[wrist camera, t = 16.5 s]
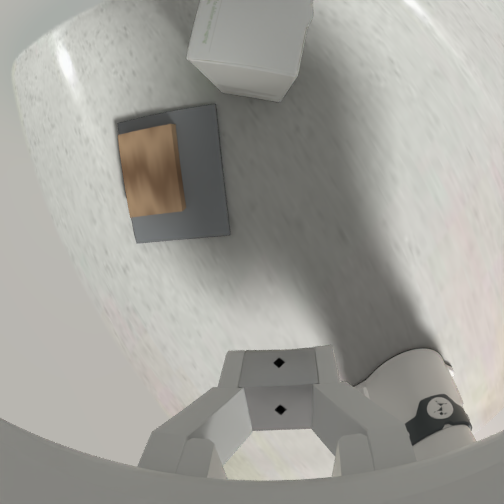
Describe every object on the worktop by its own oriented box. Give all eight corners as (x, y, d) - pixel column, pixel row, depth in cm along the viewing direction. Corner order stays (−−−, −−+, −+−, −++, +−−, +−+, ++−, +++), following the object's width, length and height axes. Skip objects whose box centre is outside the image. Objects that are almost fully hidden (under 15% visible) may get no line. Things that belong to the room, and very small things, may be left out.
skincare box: (235, 25, 25) (212, -53, 11) (298, 36, 25) (323, -39, 11) (219, 96, 28) (178, 59, 14) (284, 107, 28) (301, 77, 14)
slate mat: (230, 234, 33) (229, 235, 33) (138, 242, 34) (136, 243, 34) (215, 104, 28) (215, 104, 28) (119, 123, 29) (117, 123, 29)
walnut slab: (182, 211, 30) (130, 217, 31) (186, 207, 32) (136, 213, 32) (171, 123, 27) (117, 135, 28) (175, 124, 29) (124, 134, 29)
